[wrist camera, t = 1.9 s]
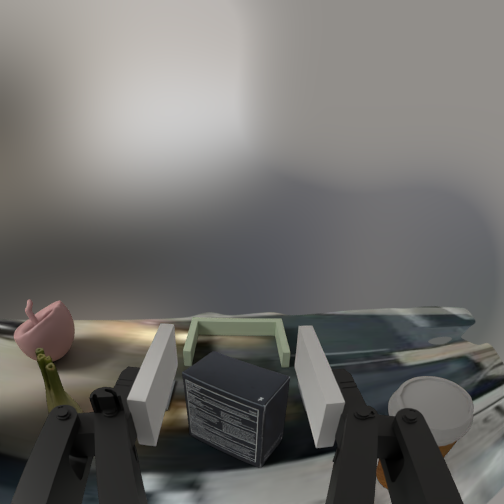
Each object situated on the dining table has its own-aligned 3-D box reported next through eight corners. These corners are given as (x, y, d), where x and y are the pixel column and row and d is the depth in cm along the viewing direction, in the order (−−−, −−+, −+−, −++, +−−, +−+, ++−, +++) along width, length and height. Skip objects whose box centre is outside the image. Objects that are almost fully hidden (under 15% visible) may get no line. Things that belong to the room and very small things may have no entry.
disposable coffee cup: (379, 438, 34) (404, 365, 31) (442, 456, 29) (479, 384, 25) (349, 488, 27) (378, 416, 24) (423, 511, 21) (473, 442, 18)
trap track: (130, 406, 39) (126, 390, 38) (163, 329, 62) (161, 316, 62) (342, 409, 41) (346, 393, 40) (310, 331, 64) (312, 318, 63)
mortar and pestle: (35, 340, 52) (22, 287, 49) (86, 341, 55) (76, 286, 52) (14, 372, 41) (-5, 313, 38) (72, 377, 43) (55, 315, 40)
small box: (285, 436, 36) (293, 374, 33) (260, 470, 30) (265, 408, 28) (216, 409, 41) (214, 347, 38) (187, 435, 35) (179, 372, 33)
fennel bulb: (56, 416, 34) (30, 344, 31) (87, 413, 36) (65, 341, 33) (55, 444, 29) (23, 370, 26) (90, 441, 31) (63, 367, 28)
